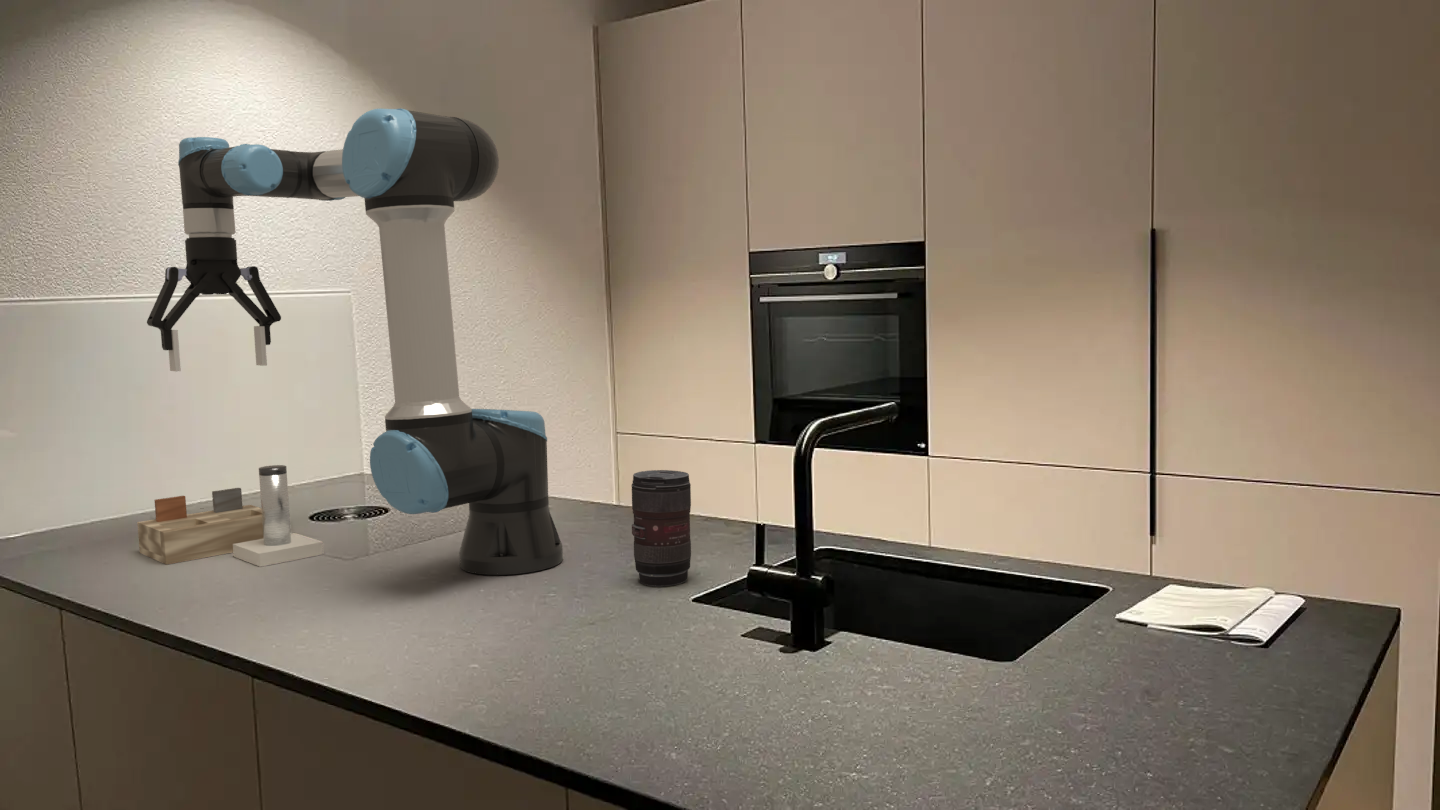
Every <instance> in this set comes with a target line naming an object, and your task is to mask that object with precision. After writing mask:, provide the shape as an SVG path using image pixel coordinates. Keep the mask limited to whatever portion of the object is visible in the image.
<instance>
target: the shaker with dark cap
mask: <svg viewBox="0 0 1440 810" xmlns="http://www.w3.org/2000/svg"><path fill="white" fill-rule="evenodd" d="M258 478H259V492H260V503H261V504H260V505H261V507H260V508H261V509H262V523H263V537H264V545H266V546H279V545H285V544H289V543H291V534H292V531H291V530H292V529H291V516H290V513H291V512H290V503H289V502H290V501H289V486H288V485H289V484H288V473H287V465H284V464H282V465H280V464H277V465H276V464H274V465H266V466H265V465H264V466H260V467H258Z"/></svg>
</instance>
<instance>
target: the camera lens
mask: <svg viewBox="0 0 1440 810" xmlns="http://www.w3.org/2000/svg"><path fill="white" fill-rule="evenodd" d="M691 485H692V484H691V483H690V475H689V473H688V472H685V471H681V470H670V469H669V470H668V469H661V470H659V469H657V470H656V469H655V470H653V469H651V470H643V471H642V470H641V471H638V472H635V473H633V475H632V482H631V508H632V514H633V523H632V524H631V534H632V536H633V558H634V562H635V563H634V564H635V570H636V572H637V573H638V578H639V583H640V584H642V585H644V586H649V587H670V586H676V585H680V584H682V583H685V582H687V581H688V575H689V574H688V573H689V572H688V571H689V569H690V567H691V559H692V557H691V556H692V541H691V516H690V513H691V509H692V508H691V506H692V499H691V497H692V495H691V494H692V493H691V492H692V491H691V490H692V489H691Z"/></svg>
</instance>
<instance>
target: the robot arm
mask: <svg viewBox="0 0 1440 810" xmlns="http://www.w3.org/2000/svg"><path fill="white" fill-rule="evenodd" d="M177 163H178V168H179V169H178V170H179V180H180V191H181V200H182V201H181V204H182V216H183V228H184V233H185V235H187V236H188V237H186V239H185V240H184V245H185V257H186V258H185V259H186V266H185V268H178V267H176V266H168V267H166V268H165V271H164V272H165V274H164V282H163V285H162V287H161V290H160V291H159V293H158V296H157V298H156V300H155V302H154V304H153V306H152V309H151V311H150V313H149V316H148V318H147V320H146V324H147V326H149V327H153V328H157V329H159V331H160V338H161V339H160V340H161V348H162V350H163V351H168V360H169V362H168V363H169V371H171V372H181V358H180V345H179V344H180V343H179V330H178V329H172V328H173V327H174V326H175V325H176V324H177V322H178V321H179V320H180V318H181V317H182V316H184V314H185V312H186V311H187V310H188V308H190V306H191V305H192V303H193V302H194V301H195V300H196V298H198V297H199V296H200V295H203V296H204V295H205V296H207V295H209V296H211V295H227V294H228V295H229V296H230V297H232V298H233V299H234V300H235V301H236V303H238V304H239V305H240V307H242V309H244V310H245V311H246V313H248V314H249V316H250V317H251V318H252V319H253V320H254V321H255V322H256V323H257V324H258V325H254V326H253V333H254V335H253V336H254V338H253V339H254V352H255V366H262V367H264V366H267V365H268V362H267V361H268V359H267V346H269V345H271V343H272V341H271V340H272V337H271V336H272V335H271V326H272V325H273V324H275V323H277V322H280V321H281V320H282V315H281V314H280V312H279V311H278V308H277V307H276V305H275V303H274V301H273V300H272V298H271V296H270V295H269V293H268V291H267V289H266V287H265V286H264V284H263V282H262V280H261V278H260V273H259V268H258V267H257V266H254V265H253V266H247V267H244V268H243V267H242V268H240V267H239V265H238V251H237V239H235V238H234V237H233V235H235V234H236V222H235V209H234V208H235V207H234V198H235V197H262V198H280V199H281V198H284V199H285V198H286V199H289V198H290V199H303V200H319V201H321V202H325V201H327V202H329V201H330V202H331V201H340V200H344V199H346V198H352V197H360V198H362V199H363V200H364V206H365V207H364V208H365V209H364V210H365V215H366V216H367V217H368V218H369V219H371V220H372V221H373V222H374V223H375V224H376V225H377V227H378V231H379V242H380V252H381V264H382V265H381V266H382V275H383V276H382V277H383V283H384V284H383V286H384V296H385V297H384V299H385V307H386V318H387V319H386V320H387V329H388V340H389V349H390V351H389V352H390V361H391V372H392V384H393V395H394V403H393V405H392V407H391V409H389V411H388V412H387V413H386V414H385V415H384V423H385V431H383V432H382V434H379V435H378V436H377V437H376V438H375V440H374V441H373V444H372V446H373V447H372V448H371V449H370V453H369V467H370V473H371V476H372V479H373V482H374V484H375V486H376V489H377V490H378V492H379V494H380V495H381V497H382V498H384V499H385V500H386V502H387V503H388V504H389V506H391V507H393V508H394V509H395V510H397V511H399V512H401V513H404V514H408V515H418V514H419V515H420V514H425V513H430V514H431V513H432V514H433V513H438V512H440V511H443V510H445V509H449V508H453V507H459V506H462V505H466V504H468V518H467V523H466V526H465V529H464V533H463V537H462V541H461V546H460V548H459V552H458V556H459V558H458V559H459V567H460V568H461V570H463V571H464V572H468V573H472V574H478V575H488V576H489V575H490V576H495V575H496V576H498V575H499V576H501V575H504V576H505V575H519V574H527V573H533V572H538V571H543V570H546V569H549V568H553V567H555V566H557V565H560V563H561V562H563V560H564V558H563V557H564V556H563V543H562V541H561V539H560V535H559V533H558V530H557V527H556V524H555V522H554V520H553V517H552V514H551V511H550V507H549V503H550V502H549V500H550V499H549V479H548V478H549V476H548V475H549V473H548V445H547V444H548V443H547V442H548V437H547V435H546V434H547V433H546V424H545V419H544V417H543V416H542V415H541V414H540V412H539V413H538V412H536V411H529V410H515V409H514V410H513V409H511V410H510V409H497V408H495V409H493V408H472V407H471V406H469V405H468V404H467V403H466V402H464V401H463V400H462V398H461V397H460V389H459V380H458V367H457V357H456V353H457V352H456V343H455V332H454V320H453V309H452V298H451V285H450V276H449V264H448V253H447V252H448V251H447V250H448V249H447V243H446V242H447V241H446V227H445V224H446V221H447V220H448V219H449V218H450V217H451V215H452V214H453V213H454V212H455V202H465V201H471V200H475V199H476V198H478V197H480V196H482V195H483V194H485V193H486V192H487V191H488V190H489V189H490V188H491V187H492V185H493V183H495V180H496V178H497V175H498V171H499V168H500V167H499V164H500V158H499V153H498V149H497V147H496V143H495V142H494V141H493V138H492V137H491V136H490V135H489V133H488V132H487V131H486V130H485V129H484V128H483V127H481V126H480V125H478V124H477V123H475V122H473V121H471V120H467V119H466V118H462V117H456V116H446V115H439V114H435V113H434V114H433V113H426V112H420V111H414V110H410V109H409V110H408V109H404V108H373V109H371V110H367V111H366V112H364V113H362V114H361V115H360V116H359V117H358V118H357V119H356V120H355V121H354V123H353V124H352V126H351V129H350V130H349V131H348V132H347V135H346V137H345V140H344V144H343V148H341V149H333V150H325V151H324V150H323V151H315V152H314V151H311V152H309V151H290V150H285V149H275V148H270V147H268V146H266V145H263V144H259V143H258V144H257V143H255V144H251V143H250V144H248V143H242V144H240V145H235V146H231V147H230V145H229V142H228V141H227V139H223V138H220V137H209V136H207V137H206V136H196V137H192V136H190V137H186V138H183V139H181V141H180V142H179V143H178V162H177ZM241 276H242V278H243V279H244V280H245V281H247V284H248V285H249V287H250V289H251V291H252V293H253V294H254V297H256V300H257V301H258V303H259V305H260V307H261V308H262V310H263V311H264V312H263V311H262V310H261V308H259V306H257V304H256V303H254V301H253V300H252V299H251V298H250V297H249V296H248V295H247V294H246V293H245V291H244V289H242V287H241V286H240V285H239V284H238V283H237V282H238V280H239V279H240V277H241ZM183 277H185V278H186V279H187V281H188V282H189V283H190V284H189V286H188V287H186V289H185V291H184V293H183V294H182V296H181V297H180V298H179V299H178V301H177V302H176V303H175V305H174V306H173V307H172V308H171V309H170V310H169V311H168V313H167V314H166V315H165V312H166V310H167V308H168V306H169V304H170V302H171V300H172V298H173V295H174V293H175V291H176V288H177V286H178V283H179V282H180V281H182V279H183ZM164 315H165V316H164ZM163 317H164V318H163Z"/></svg>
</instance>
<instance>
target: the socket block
mask: <svg viewBox="0 0 1440 810" xmlns="http://www.w3.org/2000/svg"><path fill="white" fill-rule="evenodd" d="M211 493H212V494H211V497H212V507H213V510H207V511H201V512H194V513H187V500H186V496H185V495H179V496H178V495H177V496H171V497H166V498H158V499H157V498H156V499H154V512H155V519H149V520H148V519H147V520H143V521H137V522H136V523H137V524H136V525H137V535H138V536H137V537H138V547H139V548H138V549H139V554H142V555H144V556H146V557H148V558H150V559H153V560H154V561H157V562H159V563H162V564H163V565H171V564H177V563H182V562H188V561H193V560H198V559H205V558H209V557H214V556H221V555H226V554H231V553H233V544H236V543H242V542H247V541H253V540H258V539H264V537H263V523H262V509H261V507H258V506H255V505H252V504H246V505H243V493H242V487H233V488H227V489H221V490H213V491H211Z"/></svg>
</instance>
